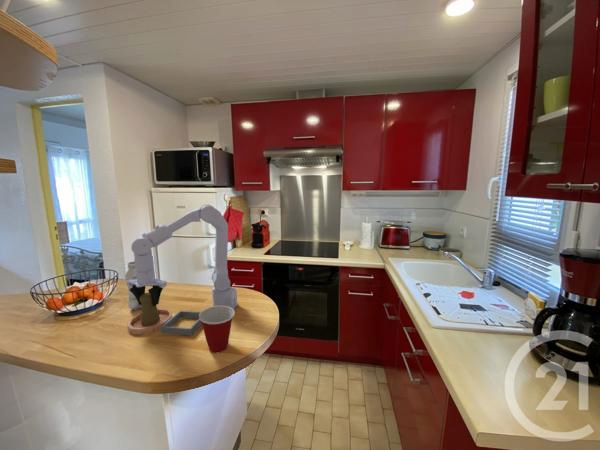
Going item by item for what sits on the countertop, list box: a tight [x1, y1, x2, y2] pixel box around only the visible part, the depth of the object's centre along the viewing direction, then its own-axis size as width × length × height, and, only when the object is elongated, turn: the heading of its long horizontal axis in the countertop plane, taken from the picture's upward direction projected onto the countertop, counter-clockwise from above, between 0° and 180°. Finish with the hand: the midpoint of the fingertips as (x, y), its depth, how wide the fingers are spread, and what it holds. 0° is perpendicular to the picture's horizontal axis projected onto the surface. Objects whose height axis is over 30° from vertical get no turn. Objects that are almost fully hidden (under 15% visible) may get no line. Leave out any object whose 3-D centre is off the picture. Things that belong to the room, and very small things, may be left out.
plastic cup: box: [199, 306, 236, 354], centre depth 76 cm, size 11×11×12 cm
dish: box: [127, 308, 173, 336], centre depth 90 cm, size 14×14×2 cm
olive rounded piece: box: [140, 291, 160, 326], centre depth 89 cm, size 6×6×11 cm
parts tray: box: [160, 310, 202, 337], centre depth 89 cm, size 11×11×2 cm
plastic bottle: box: [124, 261, 142, 311], centre depth 100 cm, size 6×7×20 cm
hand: (149, 304), depth 89 cm, fingers closed on olive rounded piece, 5 cm apart
